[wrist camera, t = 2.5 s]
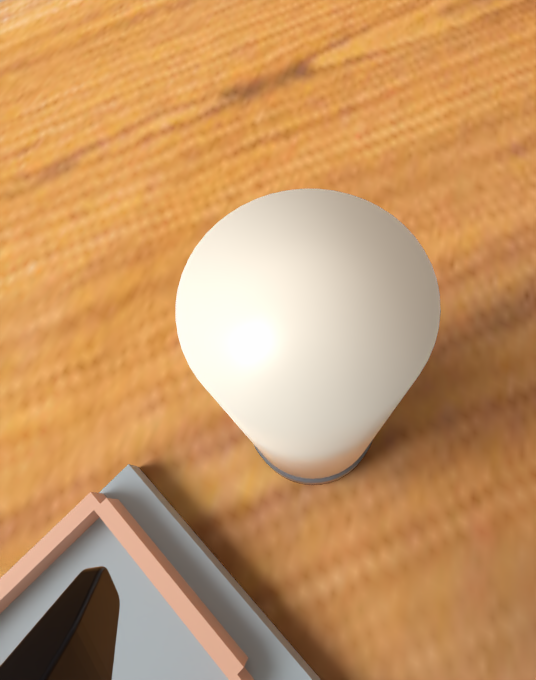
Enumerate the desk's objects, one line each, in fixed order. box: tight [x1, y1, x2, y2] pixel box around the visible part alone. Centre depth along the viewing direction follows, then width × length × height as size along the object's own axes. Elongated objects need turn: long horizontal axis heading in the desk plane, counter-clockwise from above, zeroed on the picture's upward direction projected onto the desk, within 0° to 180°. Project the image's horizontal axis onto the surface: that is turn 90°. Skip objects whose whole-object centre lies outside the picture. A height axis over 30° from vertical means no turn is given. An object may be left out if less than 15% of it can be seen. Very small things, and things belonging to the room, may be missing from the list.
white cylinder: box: [176, 189, 441, 485], centre depth 15 cm, size 5×5×13 cm
